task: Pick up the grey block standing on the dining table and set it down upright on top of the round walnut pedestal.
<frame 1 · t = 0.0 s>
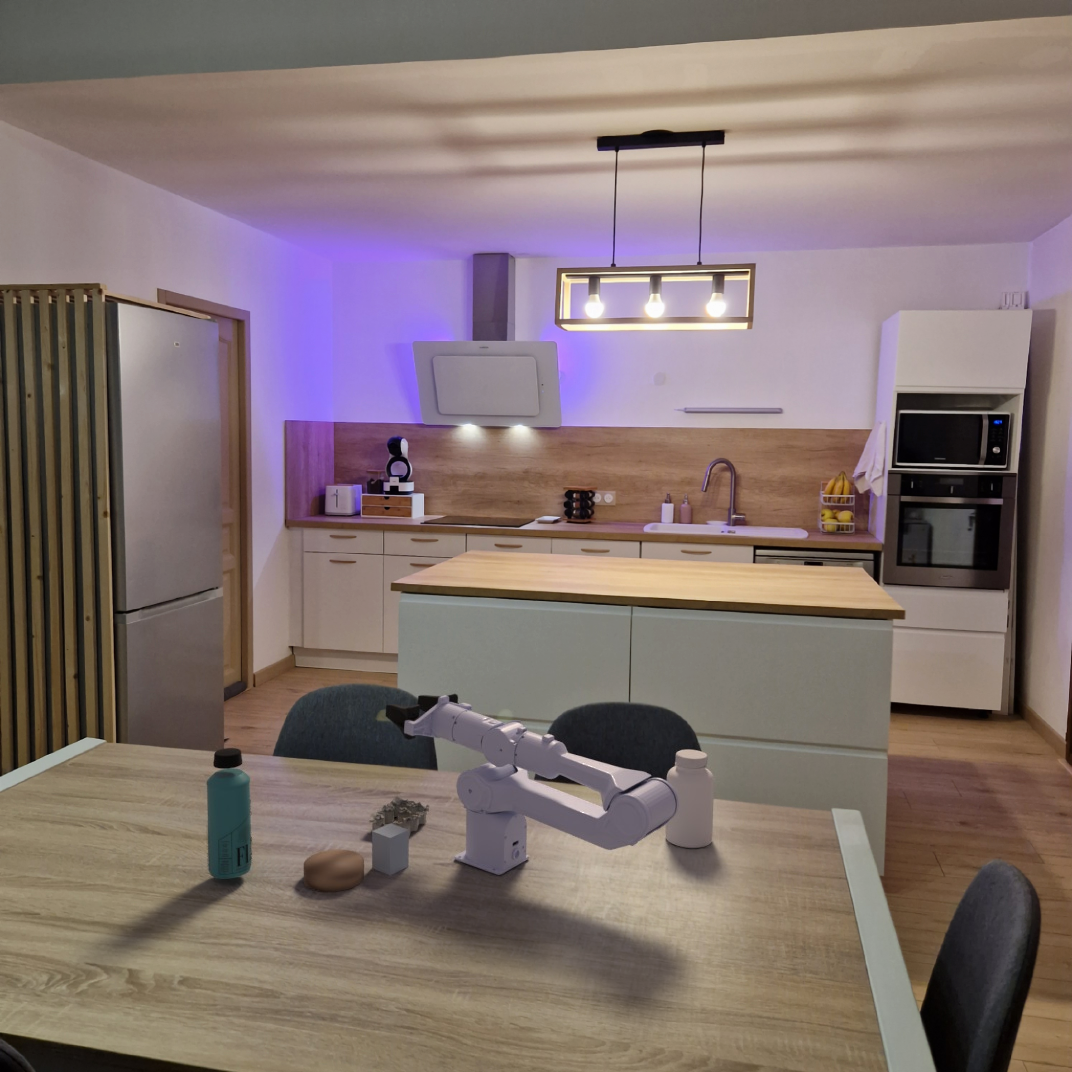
hand: (403, 705, 159), 22 cm above the table, tool horizontal, fingers open, 7 cm apart
block: (390, 867, 146), on the table
pedestal: (334, 877, 142), on the table
pill bottle: (688, 840, 159), on the table
beverage bottle: (229, 880, 141), on the table
egg carton: (399, 829, 162), on the table
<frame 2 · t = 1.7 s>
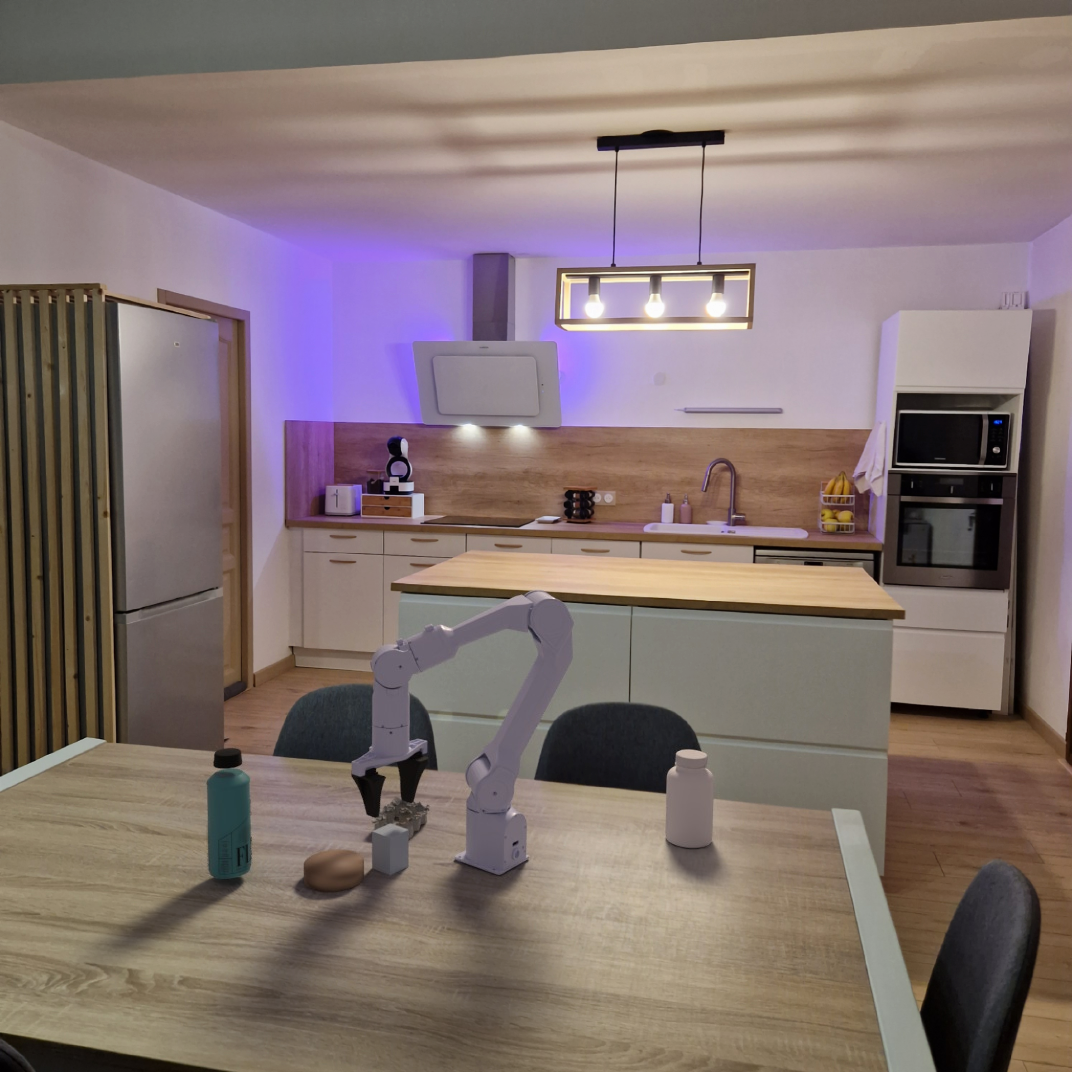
hand: (390, 808, 145), 10 cm above the table, tool pointing down, fingers open, 7 cm apart
nothing on the table moved.
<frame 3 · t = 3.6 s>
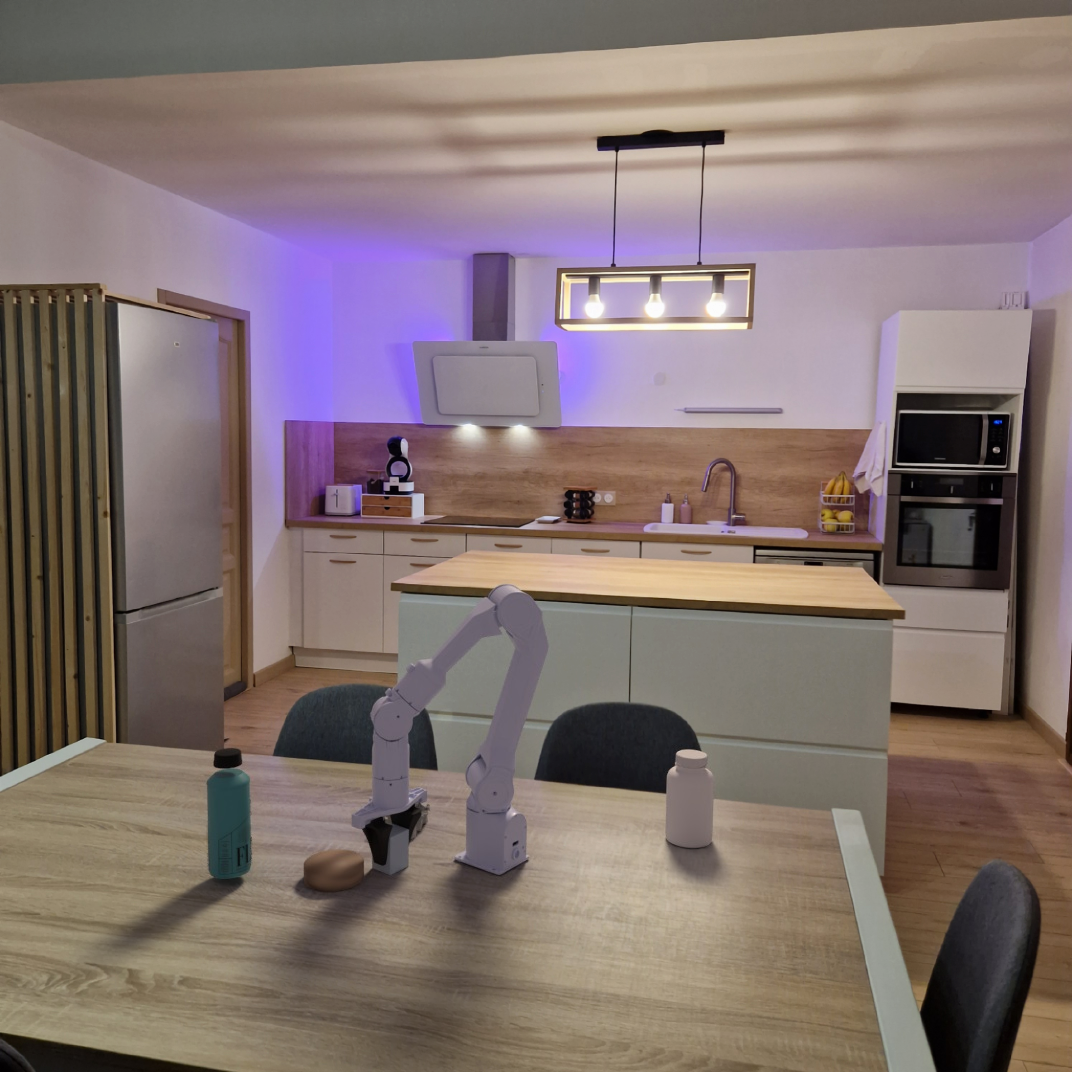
hand: (390, 858, 146), 1 cm above the table, tool pointing down, fingers closed on block, 4 cm apart
block: (390, 867, 146), on the table, touching gripper
everything else where it was.
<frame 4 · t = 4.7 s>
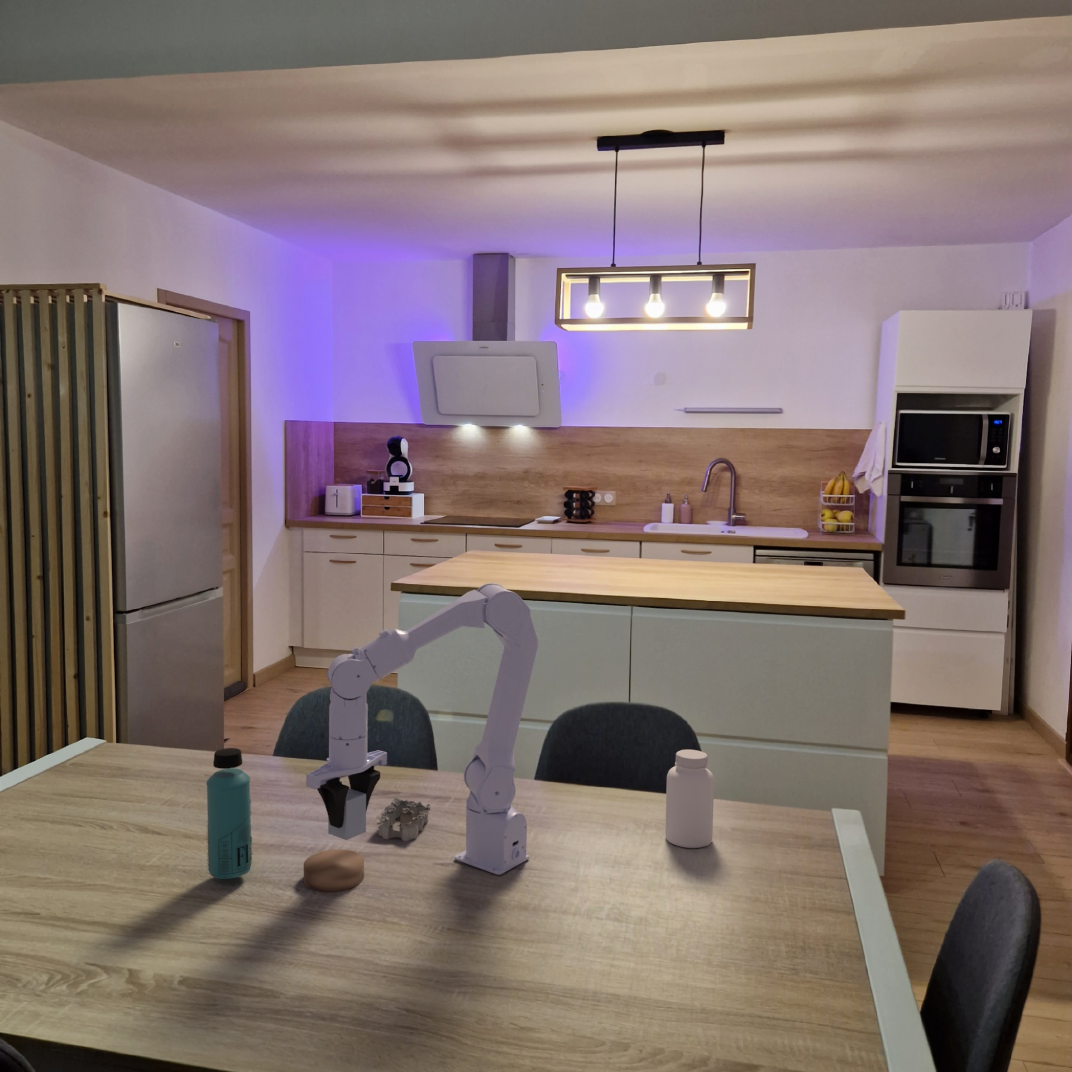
hand: (347, 821, 142), 9 cm above the table, tool pointing down, fingers closed on block, 4 cm apart
block: (347, 832, 142), point 7 cm above the table, touching gripper
everything else where it was.
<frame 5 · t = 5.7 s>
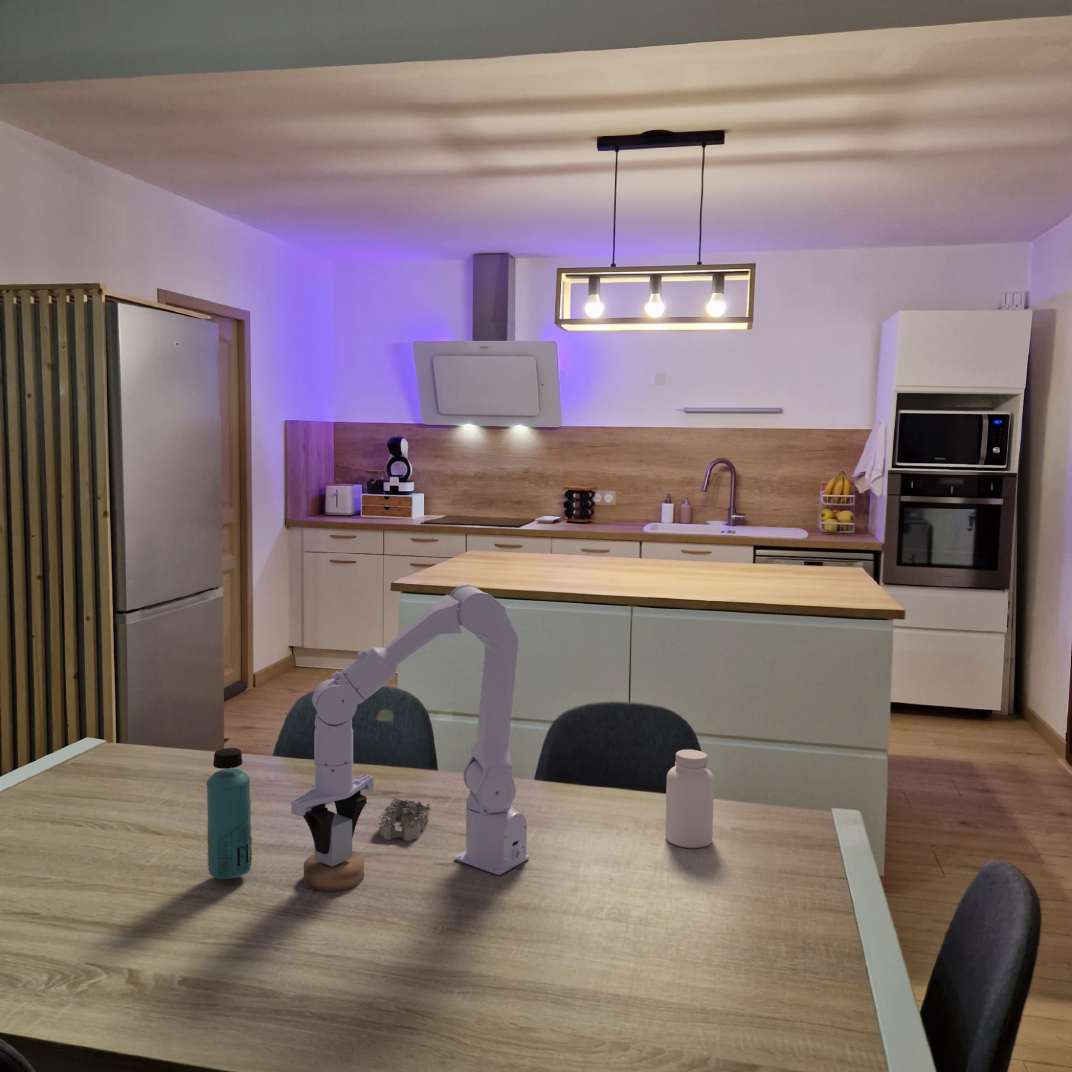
hand: (334, 847, 141), 5 cm above the table, tool pointing down, fingers closed on block, 4 cm apart
block: (333, 858, 142), point 3 cm above the table, touching gripper
everything else where it was.
when the fingers open (5 cm above the table, at t = 6.3 s): block stays where it is, resting on pedestal.
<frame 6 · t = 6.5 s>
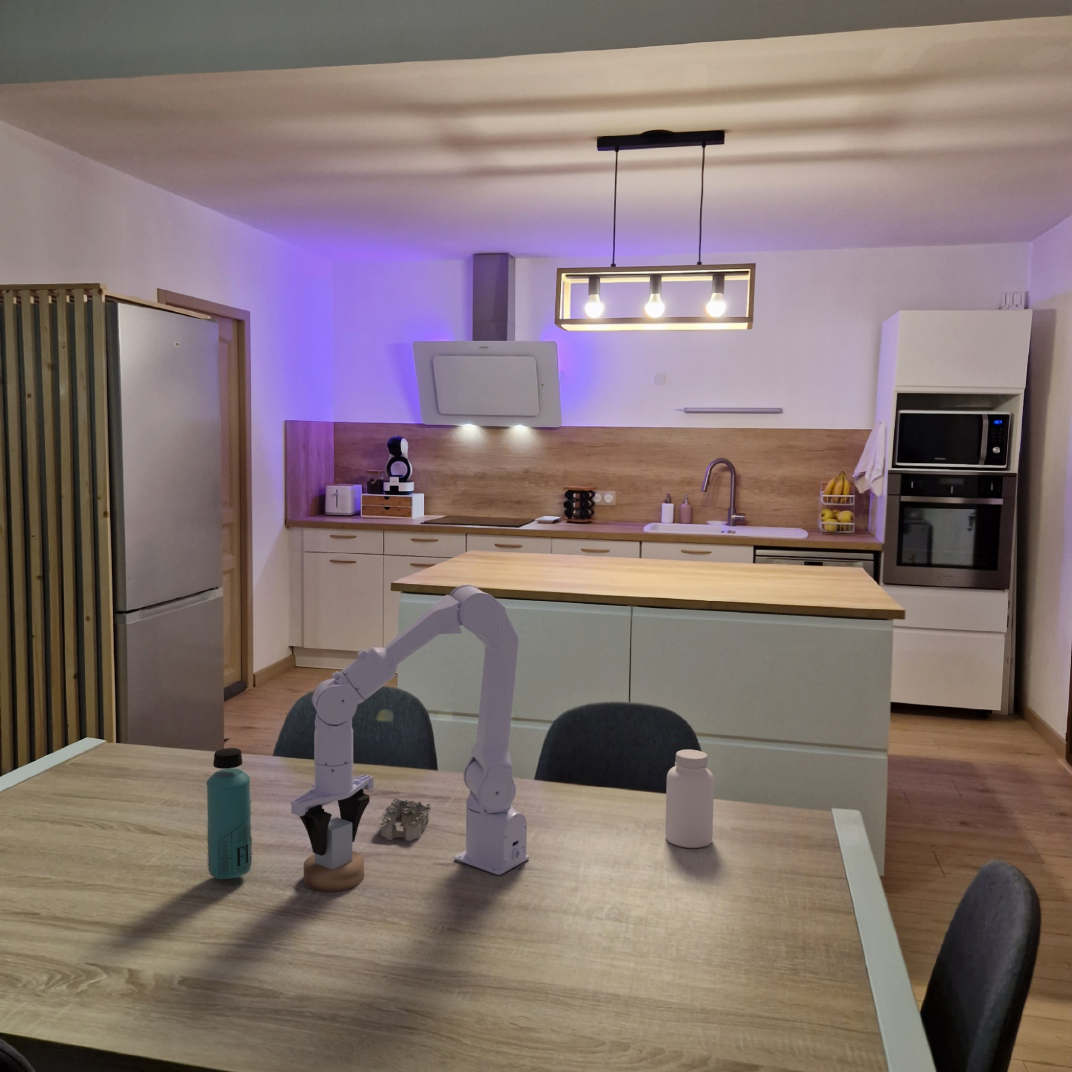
hand: (333, 846, 141), 5 cm above the table, tool pointing down, fingers open, 5 cm apart
block: (333, 861, 142), point 3 cm above the table, touching pedestal
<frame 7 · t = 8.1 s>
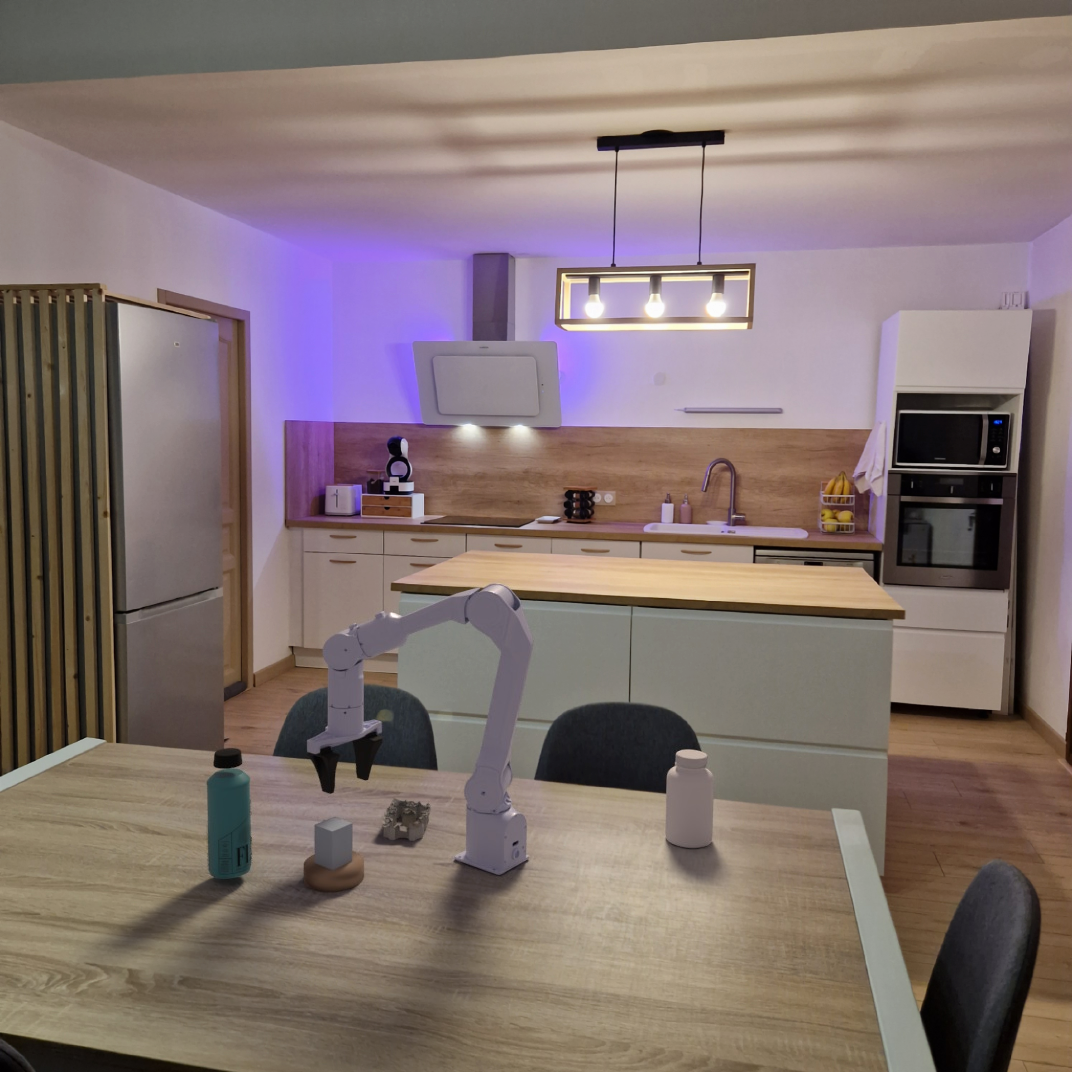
hand: (345, 785, 152), 10 cm above the table, tool pointing down, fingers open, 7 cm apart
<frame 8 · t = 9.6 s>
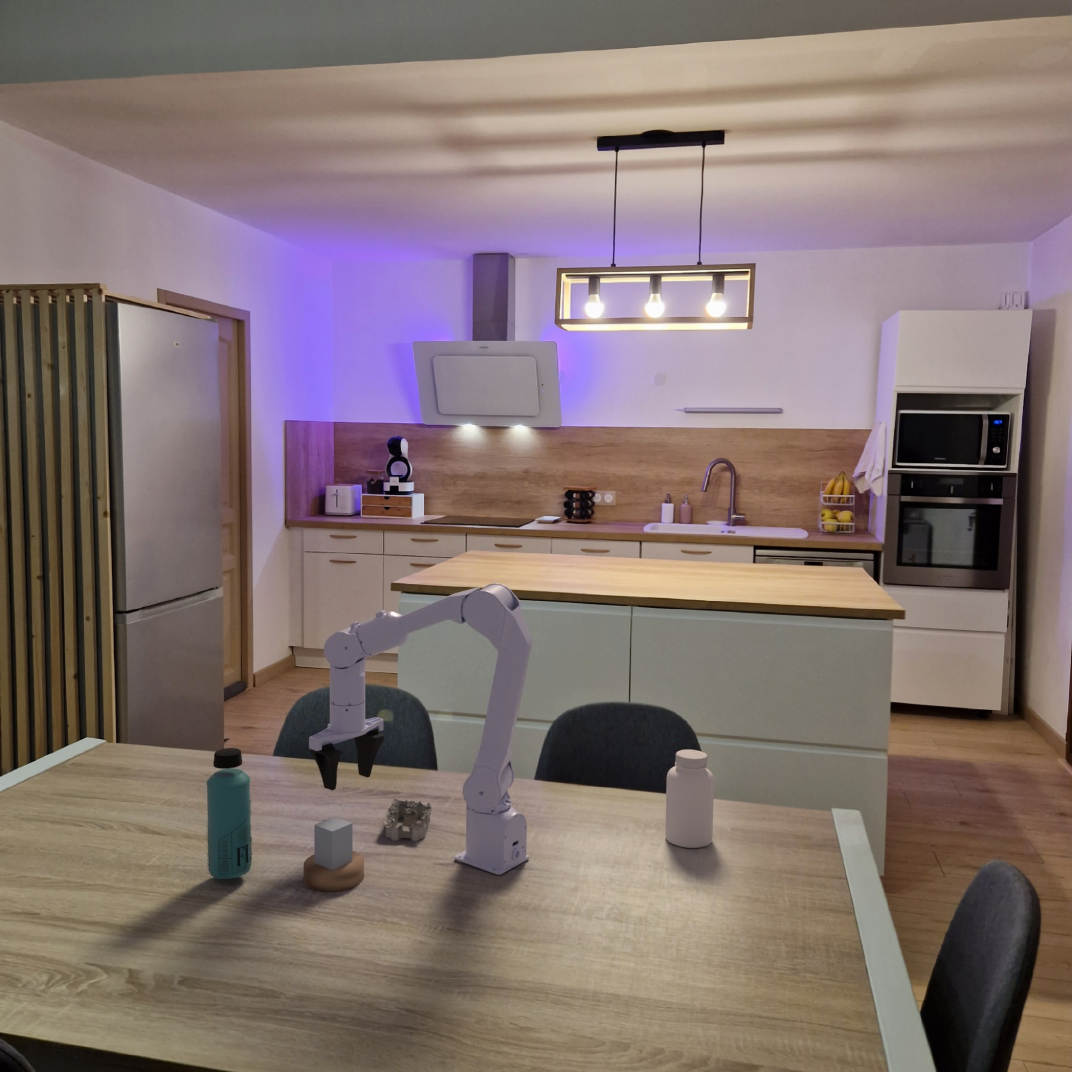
hand: (347, 782, 154), 10 cm above the table, tool pointing down, fingers open, 7 cm apart
at the end: block 0.1 cm off-centre on the pedestal, point 2.5 cm above the pedestal's base; block tilted 0°; the gripper is holding nothing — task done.
